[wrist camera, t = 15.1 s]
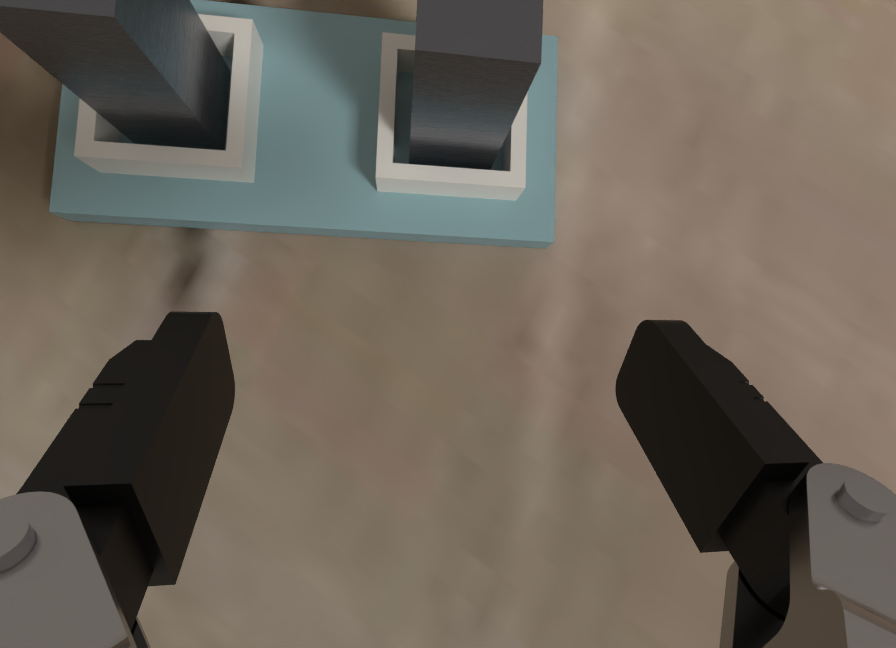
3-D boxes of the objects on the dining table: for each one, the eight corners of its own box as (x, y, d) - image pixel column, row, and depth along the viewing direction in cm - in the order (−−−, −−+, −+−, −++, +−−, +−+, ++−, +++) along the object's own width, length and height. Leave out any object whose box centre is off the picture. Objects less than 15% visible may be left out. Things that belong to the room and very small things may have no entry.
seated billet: (135, 144, 25) (-36, 2, 15) (143, 58, 26) (-19, -135, 16) (224, 151, 26) (114, 17, 16) (230, 66, 26) (127, -117, 16)
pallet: (68, 220, 26) (18, 198, 22) (90, 7, 27) (44, -45, 23) (546, 248, 28) (566, 232, 25) (549, 52, 29) (569, 11, 26)
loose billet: (408, 166, 26) (415, 49, 17) (413, 84, 27) (421, -78, 17) (488, 173, 27) (541, 63, 17) (491, 92, 27) (544, -61, 17)
